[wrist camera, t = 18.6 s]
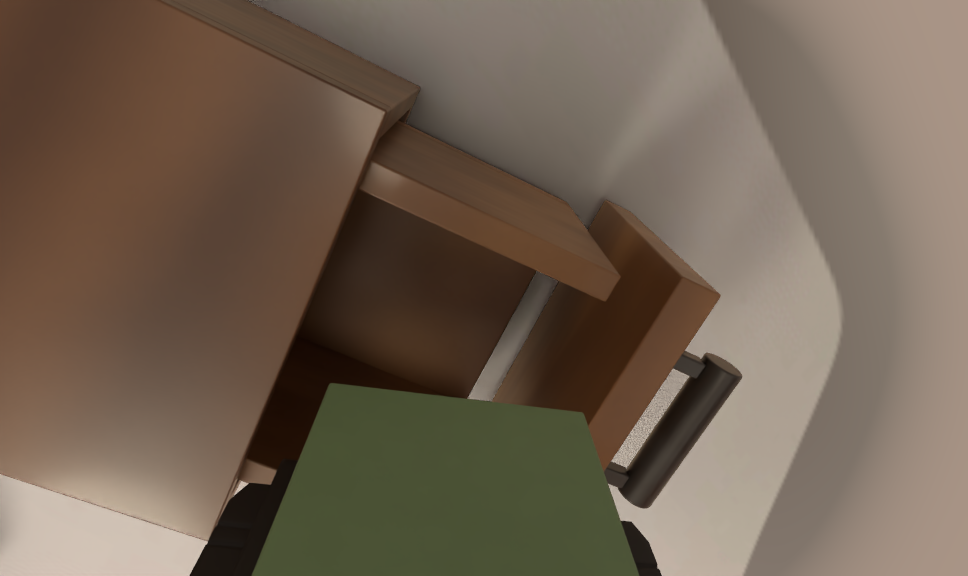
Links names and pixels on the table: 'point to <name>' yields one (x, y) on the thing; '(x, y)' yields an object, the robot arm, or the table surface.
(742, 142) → the table surface
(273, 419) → the drawer
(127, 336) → the cabinet
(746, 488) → the table surface
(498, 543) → the block
